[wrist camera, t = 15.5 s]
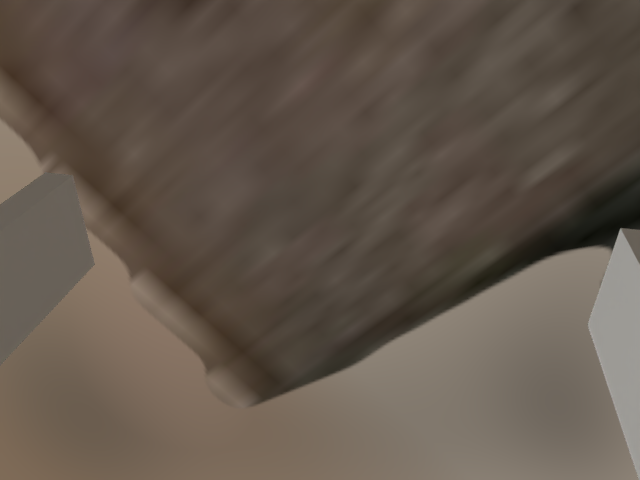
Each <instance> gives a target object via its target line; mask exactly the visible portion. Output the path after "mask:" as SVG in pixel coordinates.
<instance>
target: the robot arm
mask: <svg viewBox="0 0 640 480" xmlns="http://www.w3.org/2000/svg"><path fill="white" fill-rule="evenodd" d="M94 265H95V264H94V260H93V256H92V252H91V248H90V244H89V240H88V236H87V231H86V227H85V223H84V219H83V215H82V211H81V207H80V203H79V199H78V195H77V191H76V187H75V183H74V179H73V175H65V174H55V173H44V174H43V175H41V176H40V177H38V178H37V179H36V180H34V181H33V182H31V183H30V184H29V185H27V186H26V187H24V188H23V189H21V190H20V191H19V192H17V193H16V194H14V195H13V196H12V197H10V198H9V199H7V200H6V201H4V202H3V203H2V204H0V365H1V364H2V363H3V362H4V361H5V360H6V359H7V358H8V357H9V355H10V354H11V353H12V352H13V351H14V350H15V349H16V348H17V347H18V346H19V345H20V344H21V343H22V342H23V341H24V339H25V338H26V337H27V336H28V335H29V334H30V333H31V332H32V331H33V330H34V329H35V328H36V327H37V326H38V325H39V323H40V322H41V321H42V320H43V319H44V318H45V317H46V316H47V315H48V314H49V313H50V312H51V311H52V310H53V308H54V307H55V306H56V305H57V304H58V303H59V302H60V301H61V300H62V299H63V298H64V297H65V295H67V294H68V292H69V291H70V290H71V289H72V288H73V287H74V286H75V285H76V284H77V283H78V281H80V279H81V278H82V277H83V276H84V275H85V274H86V273H87V272H88V271H89V270H90V269H91V268H92V267H93V266H94ZM588 328H589V330H590V333H591V337H592V340H593V342H594V346H595V349H596V352H597V355H598V358H599V361H600V364H601V367H602V370H603V373H604V376H605V379H606V382H607V385H608V388H609V391H610V394H611V397H612V400H613V403H614V406H615V409H616V412H617V415H618V418H619V421H620V424H621V427H622V430H623V433H624V436H625V439H626V442H627V445H628V449H629V452H630V455H631V457H632V461H633V464H634V467H635V470H636V473H637V476H638V479H639V480H640V230H633V229H623V228H621V229H620V232H619V234H618V237H617V240H616V243H615V246H614V249H613V252H612V255H611V258H610V261H609V264H608V267H607V270H606V272H605V275H604V278H603V281H602V284H601V287H600V290H599V293H598V296H597V299H596V302H595V305H594V307H593V310H592V313H591V316H590V319H589V322H588Z"/></svg>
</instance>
